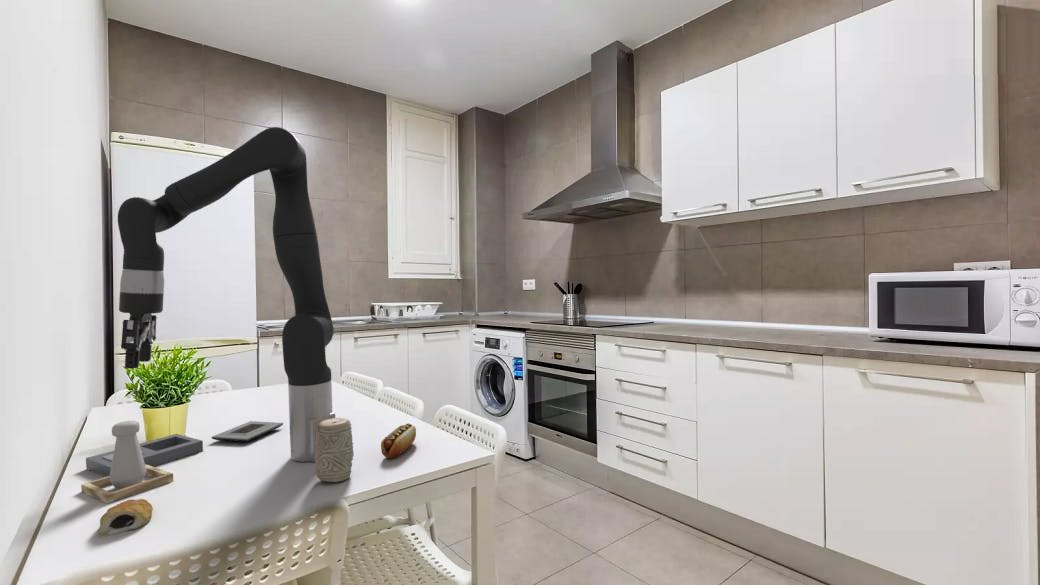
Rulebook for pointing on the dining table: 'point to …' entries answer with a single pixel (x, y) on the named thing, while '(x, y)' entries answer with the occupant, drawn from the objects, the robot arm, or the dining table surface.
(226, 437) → the electrical outlet
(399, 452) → the hot dog
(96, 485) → the wooden square frame
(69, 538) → the dining table surface
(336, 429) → the carving
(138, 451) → the salt shaker
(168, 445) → the grey rectangular frame
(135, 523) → the pastry
